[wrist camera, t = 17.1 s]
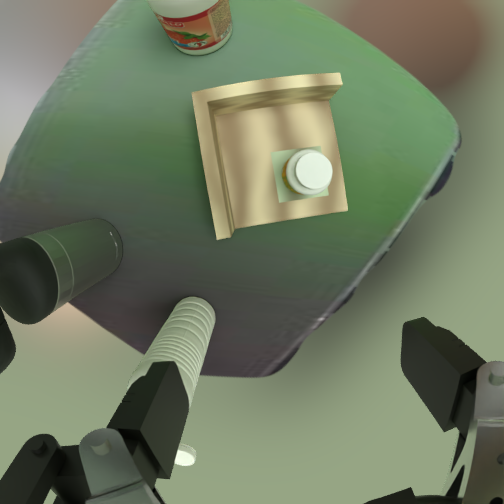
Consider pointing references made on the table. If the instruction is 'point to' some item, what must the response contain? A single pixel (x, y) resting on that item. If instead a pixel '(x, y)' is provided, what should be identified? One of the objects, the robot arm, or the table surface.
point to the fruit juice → (195, 23)
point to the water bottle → (182, 351)
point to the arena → (266, 148)
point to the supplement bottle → (307, 172)
